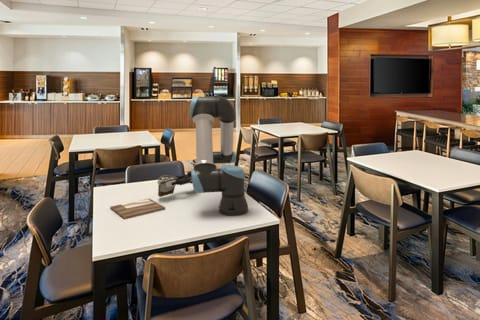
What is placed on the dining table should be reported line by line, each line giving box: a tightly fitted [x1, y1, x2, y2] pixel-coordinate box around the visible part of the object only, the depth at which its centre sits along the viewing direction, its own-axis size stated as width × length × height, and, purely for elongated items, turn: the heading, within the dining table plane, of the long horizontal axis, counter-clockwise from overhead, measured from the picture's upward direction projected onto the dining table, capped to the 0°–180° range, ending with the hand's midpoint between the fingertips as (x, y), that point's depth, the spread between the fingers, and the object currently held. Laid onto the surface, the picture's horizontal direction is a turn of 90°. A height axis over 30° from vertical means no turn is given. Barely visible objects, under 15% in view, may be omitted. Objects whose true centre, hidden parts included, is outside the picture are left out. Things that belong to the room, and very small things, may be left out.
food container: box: [157, 174, 177, 198], centre depth 206 cm, size 12×6×10 cm, turn 138°
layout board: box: [109, 198, 166, 220], centre depth 190 cm, size 20×22×1 cm
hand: (163, 184), depth 203 cm, fingers closed on food container, 4 cm apart
